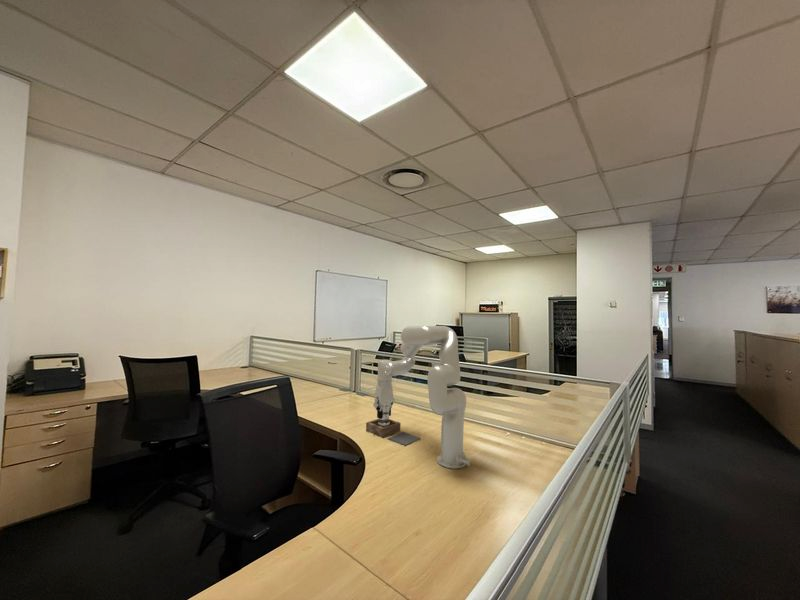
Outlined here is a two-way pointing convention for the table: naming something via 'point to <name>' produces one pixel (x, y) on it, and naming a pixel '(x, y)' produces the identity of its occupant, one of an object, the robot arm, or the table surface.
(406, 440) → the mat
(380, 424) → the plastic bottle
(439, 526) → the table surface
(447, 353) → the robot arm
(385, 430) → the box
